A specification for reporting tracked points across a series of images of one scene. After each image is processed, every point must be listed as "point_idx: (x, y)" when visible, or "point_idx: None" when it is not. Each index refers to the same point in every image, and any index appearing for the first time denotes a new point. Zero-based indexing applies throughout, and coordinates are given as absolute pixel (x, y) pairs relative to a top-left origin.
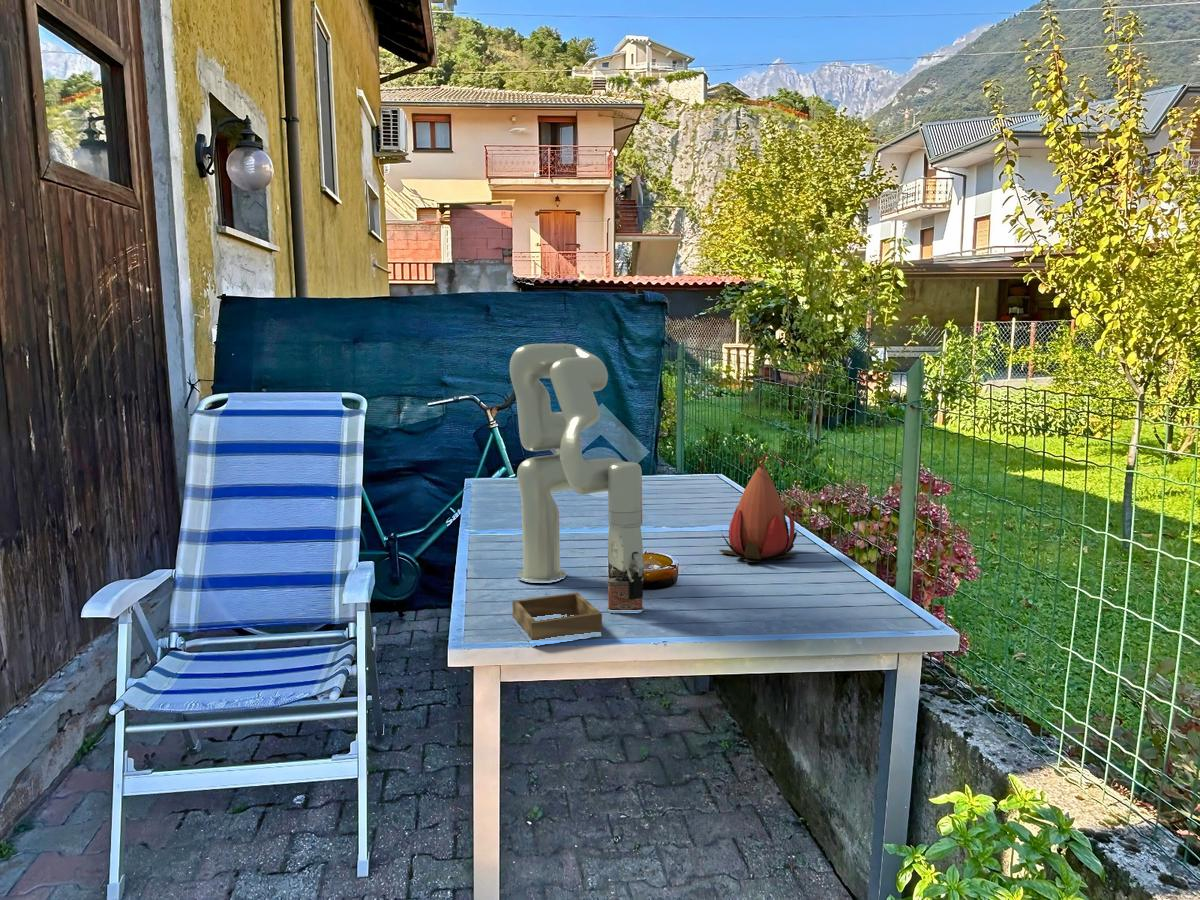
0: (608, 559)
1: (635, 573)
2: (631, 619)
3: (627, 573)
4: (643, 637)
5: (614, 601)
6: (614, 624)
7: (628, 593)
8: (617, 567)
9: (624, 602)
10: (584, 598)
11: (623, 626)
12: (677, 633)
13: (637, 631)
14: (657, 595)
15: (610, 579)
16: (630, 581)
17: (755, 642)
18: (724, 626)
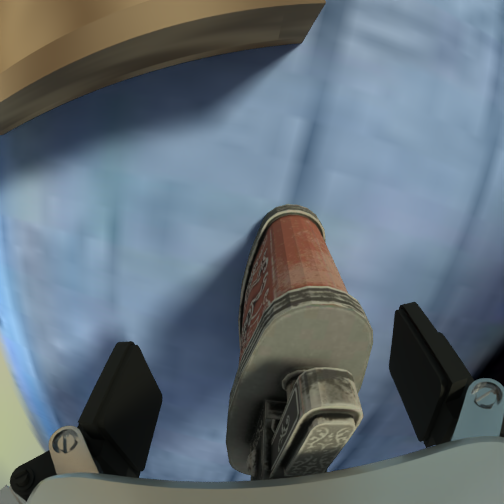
0: (499, 462)
1: (15, 482)
2: (168, 287)
3: (252, 474)
4: (8, 276)
5: (263, 261)
6: (113, 201)
7: (118, 361)
8: (159, 499)
9: (245, 310)
10: (148, 32)
11: (89, 235)
12: (50, 369)
13: (46, 273)
14: (403, 408)
15: (340, 332)
16: (74, 430)
17: (44, 445)
18: None
